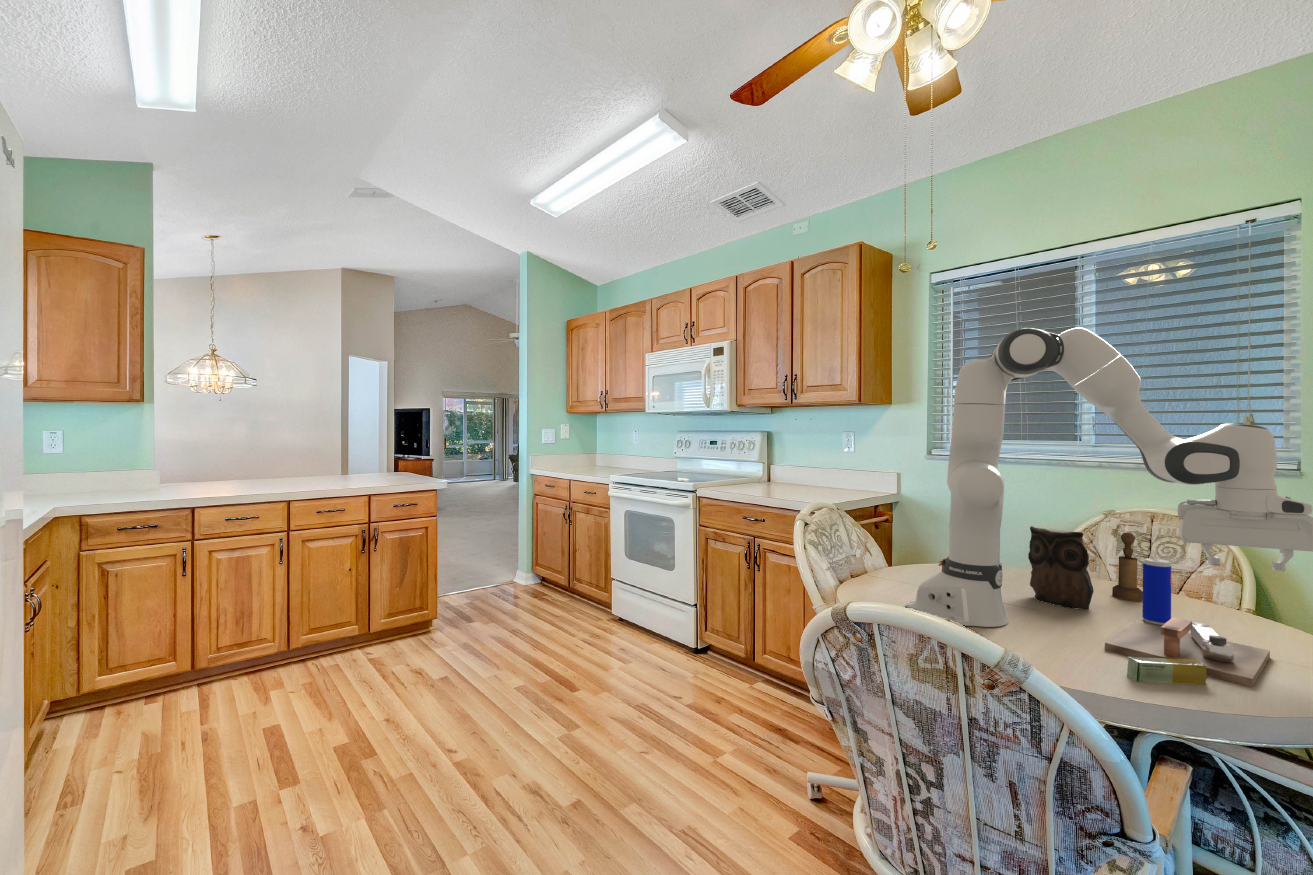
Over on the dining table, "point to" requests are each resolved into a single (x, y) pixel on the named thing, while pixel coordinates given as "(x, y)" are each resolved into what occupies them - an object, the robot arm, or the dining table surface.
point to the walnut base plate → (1188, 650)
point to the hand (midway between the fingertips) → (1245, 567)
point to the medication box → (1166, 670)
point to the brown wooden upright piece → (1127, 573)
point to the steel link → (1210, 649)
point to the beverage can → (1156, 591)
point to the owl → (1060, 568)
